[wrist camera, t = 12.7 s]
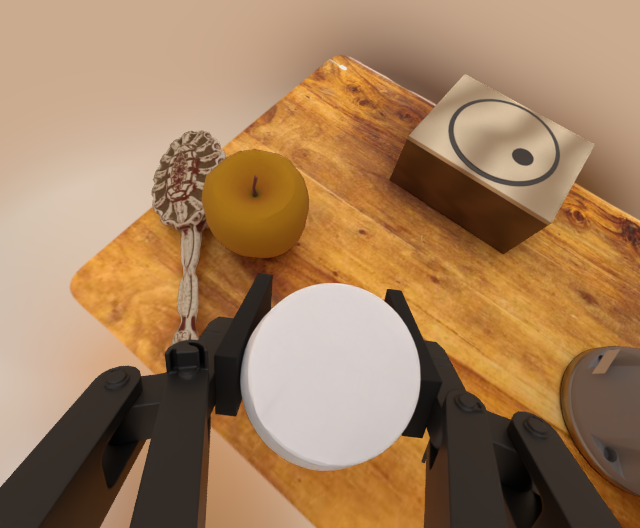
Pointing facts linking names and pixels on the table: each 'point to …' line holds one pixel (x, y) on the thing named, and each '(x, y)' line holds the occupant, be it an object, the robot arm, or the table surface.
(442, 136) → the white and brown speaker
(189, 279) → the hand mirror
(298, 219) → the apple
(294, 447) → the pill bottle
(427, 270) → the table surface
